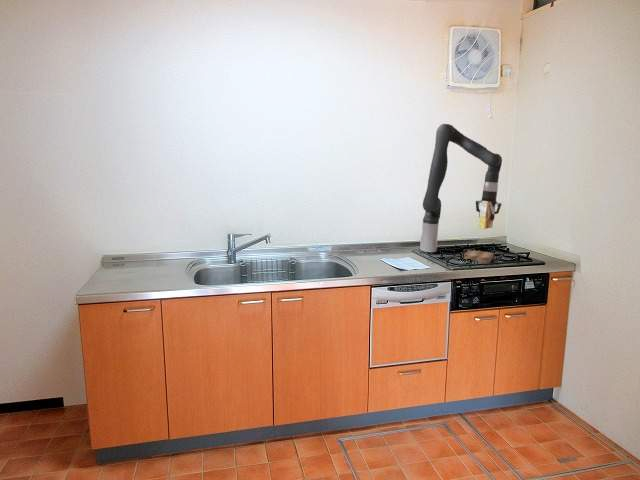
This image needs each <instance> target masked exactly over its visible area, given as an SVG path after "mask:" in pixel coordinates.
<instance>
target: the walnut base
mask: <svg viewBox="0 0 640 480" xmlns="http://www.w3.org/2000/svg"><path fill="white" fill-rule="evenodd" d="M463 259H471V260H473V261H472V262H479V263H485V264H490V263H491V261H492V260H493V259H494V252H488V251H480V250H471V249H468V250H467V251H466V252H465V253H464V254H463Z"/></svg>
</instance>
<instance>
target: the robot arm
mask: <svg viewBox="0 0 640 480" xmlns="http://www.w3.org/2000/svg"><path fill="white" fill-rule="evenodd" d="M450 142H451V143H453V144H455V145H458V146H459V147H461V148H462V149H463V150H464V151H466V152H467V153H468V154H469V155H470V156H471V155H472V156H473V157H475V158H477V159H479V160H480V161H481V162H483V163H484V164H485V165H487V166H488V167H487V171H486V172H485V176H484V183H483V188H482V195H481V200H476V201H475V211H476V212H477V213H479V215H478V218H479V217H480V205H481V201H490V202H491V204H490V206H491V207H490V208H491V211H492V216H491V221H493V222H494V220H495V217H496V216H495V215H498V214H499V212H500V209H501V207H502V203H501V202H498V201H497V195H498V190H499V189H498V188H499V177H500V172H501V167H502V162H503V158H502V156H501V155H500V154H499V153H494V152H492V151H490V150H489V149H488V148H486V146H484V145H482V144H480V143H479V142H476V141H475V140H473V139H471V138H469V137H468V136H467V135H465V134H463V133H461V132H460V131H459V130H458V129H457V128H455V127H454V125H452V124H449V123H441V124H440V125H439V126H438V127H437V129H436V132H435V144H434V150H433V155H432V159H431V164H430V168H429V173H428V180H427V187H426V190H425V193H424V194H425V195H424V198H423V201H422V208H423V210H424V211H425V212H424V216H423V219H422V231H421V235H420V241H419V242H420V244H419V246H420V247H419V251H420V252H425V253H436V252H437V248H438V235H439V222H440V218H441V211H442V201H441V199H440V198H439V193H440V189H441V187H442V185H443V182H444V180H445V178H446V175H447V170H448V146H449V143H450ZM494 206H495V207H497V209H495V210H494Z"/></svg>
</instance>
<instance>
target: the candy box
mask: <svg viewBox="0 0 640 480" xmlns="http://www.w3.org/2000/svg"><path fill="white" fill-rule="evenodd" d="M480 201H481V200H480ZM490 204H491V202H490V201H481V202H480V208H479V210H480V217H479V216H478V226H477V227H478V229H483V230H485V229H491V228H492V229H493V226H494V220H493V221H491V216H492V211H491V208H490V207H491V206H490ZM494 210H495V211H496V205H495V206H494Z"/></svg>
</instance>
